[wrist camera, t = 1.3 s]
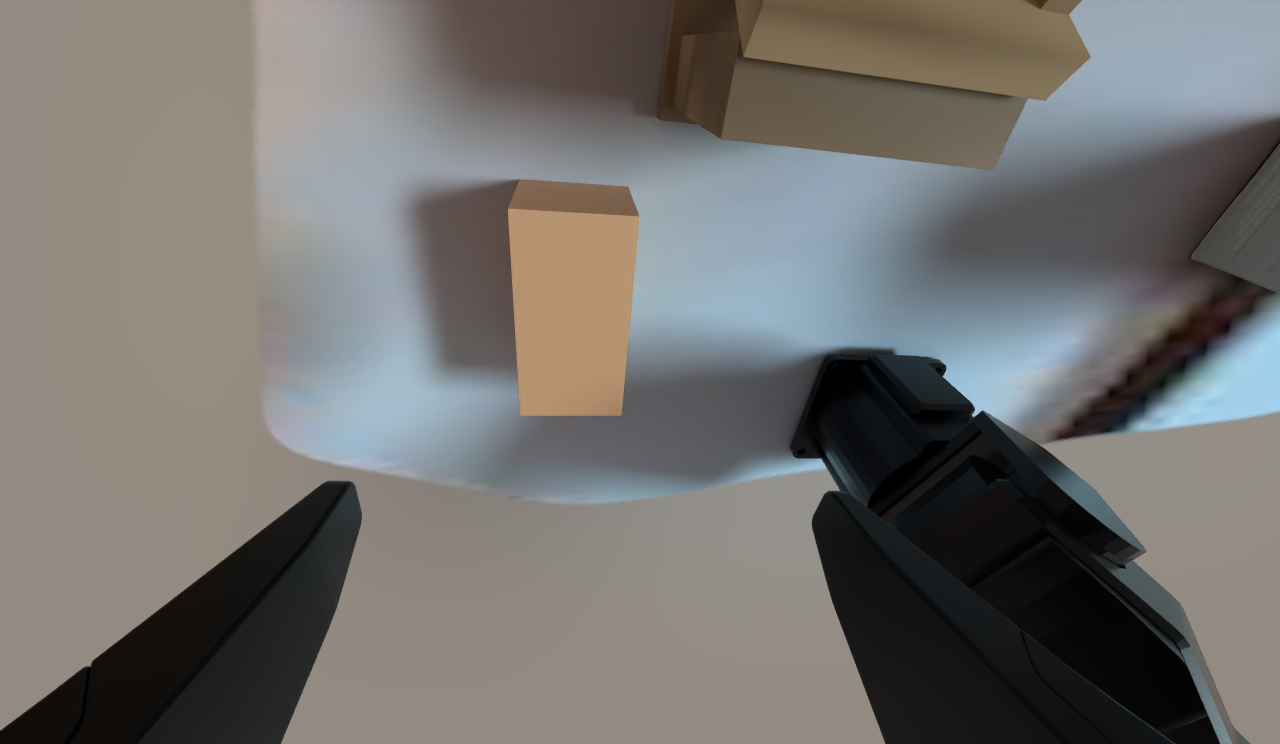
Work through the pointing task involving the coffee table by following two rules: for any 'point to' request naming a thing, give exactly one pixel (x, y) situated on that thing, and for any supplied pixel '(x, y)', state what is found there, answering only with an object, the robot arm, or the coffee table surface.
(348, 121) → the coffee table surface
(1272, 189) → the skincare box
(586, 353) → the peg
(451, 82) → the coffee table surface
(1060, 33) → the cradle
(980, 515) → the robot arm
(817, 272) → the coffee table surface
